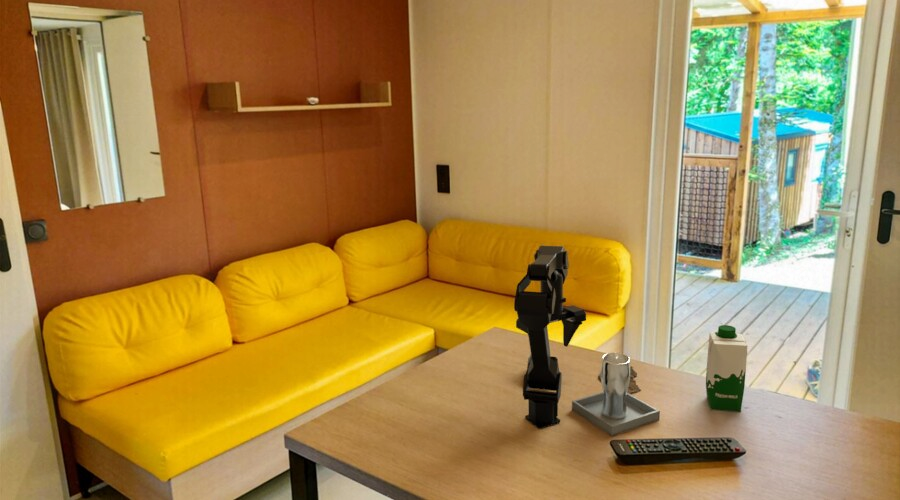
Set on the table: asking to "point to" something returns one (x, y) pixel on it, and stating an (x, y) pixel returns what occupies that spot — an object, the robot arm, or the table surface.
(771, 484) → the table surface
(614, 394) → the metal tumbler
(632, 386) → the wooden fragment
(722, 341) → the milk carton
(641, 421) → the tray
